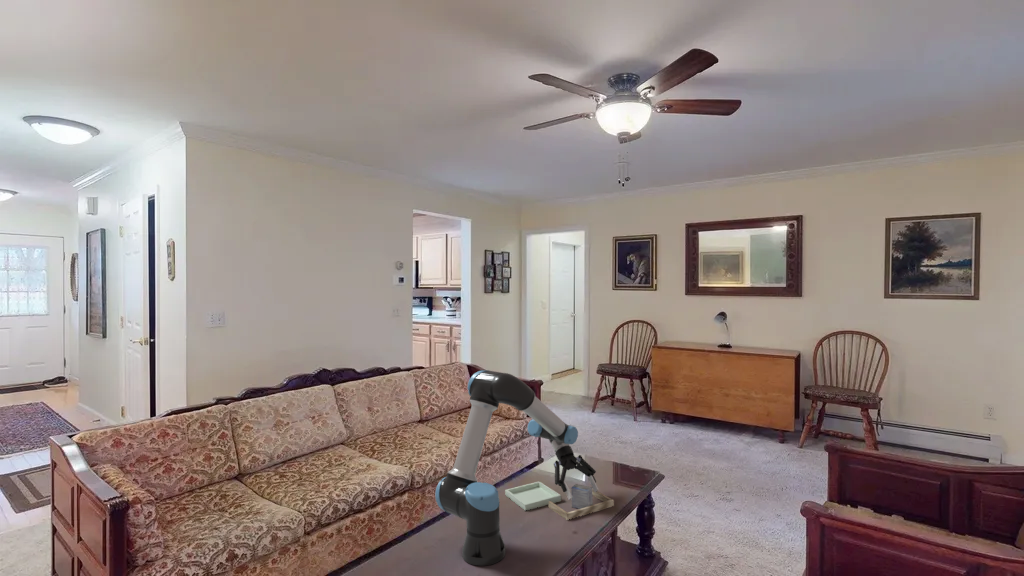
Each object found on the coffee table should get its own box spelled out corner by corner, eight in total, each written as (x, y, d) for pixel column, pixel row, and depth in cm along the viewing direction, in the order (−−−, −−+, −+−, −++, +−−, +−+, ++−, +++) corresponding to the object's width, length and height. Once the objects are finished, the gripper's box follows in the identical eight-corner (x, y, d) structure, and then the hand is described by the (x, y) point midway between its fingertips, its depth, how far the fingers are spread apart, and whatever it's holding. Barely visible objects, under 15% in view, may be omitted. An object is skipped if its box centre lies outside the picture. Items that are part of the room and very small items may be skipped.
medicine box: (593, 507, 209) (592, 487, 208) (588, 511, 205) (588, 490, 205) (576, 503, 213) (575, 483, 213) (571, 507, 209) (571, 487, 209)
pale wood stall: (567, 520, 198) (566, 514, 198) (548, 507, 210) (548, 501, 210) (614, 506, 209) (613, 500, 209) (594, 494, 221) (593, 489, 221)
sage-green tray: (525, 510, 207) (525, 505, 207) (505, 495, 223) (505, 489, 223) (561, 500, 216) (560, 495, 216) (539, 486, 231) (539, 481, 231)
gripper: (581, 448, 230) (603, 492, 217) (535, 458, 218) (555, 505, 205) (588, 439, 225) (611, 484, 212) (541, 450, 213) (562, 497, 200)
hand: (584, 494), depth 208 cm, fingers open, 13 cm apart
